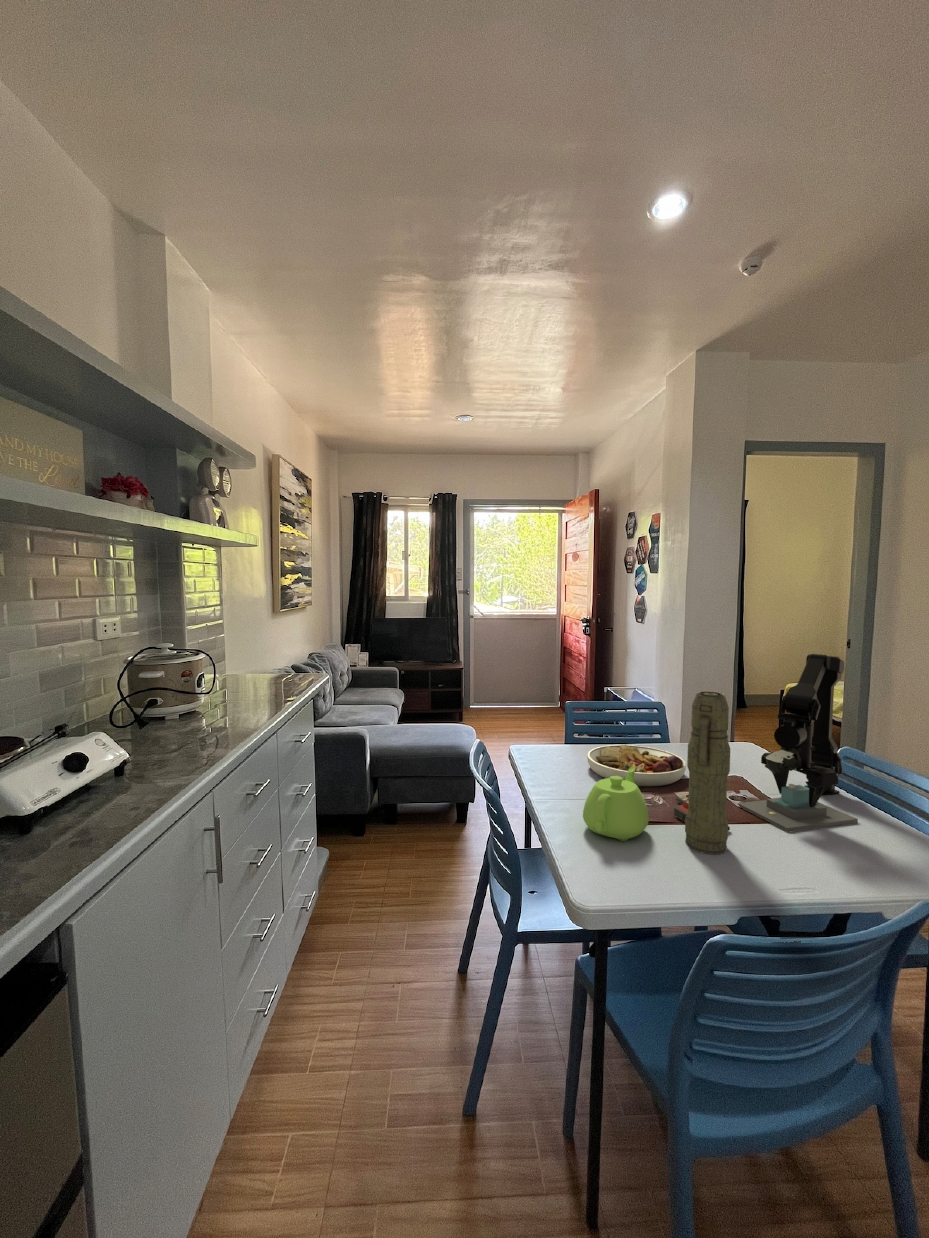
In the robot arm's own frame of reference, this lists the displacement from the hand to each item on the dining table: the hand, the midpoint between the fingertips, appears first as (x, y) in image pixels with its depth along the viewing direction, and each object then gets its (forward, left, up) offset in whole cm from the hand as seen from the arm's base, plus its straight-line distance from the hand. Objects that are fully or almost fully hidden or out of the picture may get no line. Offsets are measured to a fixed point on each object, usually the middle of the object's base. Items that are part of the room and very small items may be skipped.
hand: (796, 800), depth 143 cm
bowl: (+22, -40, -4) cm, 46 cm away
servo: (0, 0, -3) cm, 3 cm away
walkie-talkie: (+27, -5, -4) cm, 28 cm away
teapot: (+50, -4, -4) cm, 50 cm away
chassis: (0, 0, -4) cm, 4 cm away
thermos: (+35, +9, -4) cm, 36 cm away
